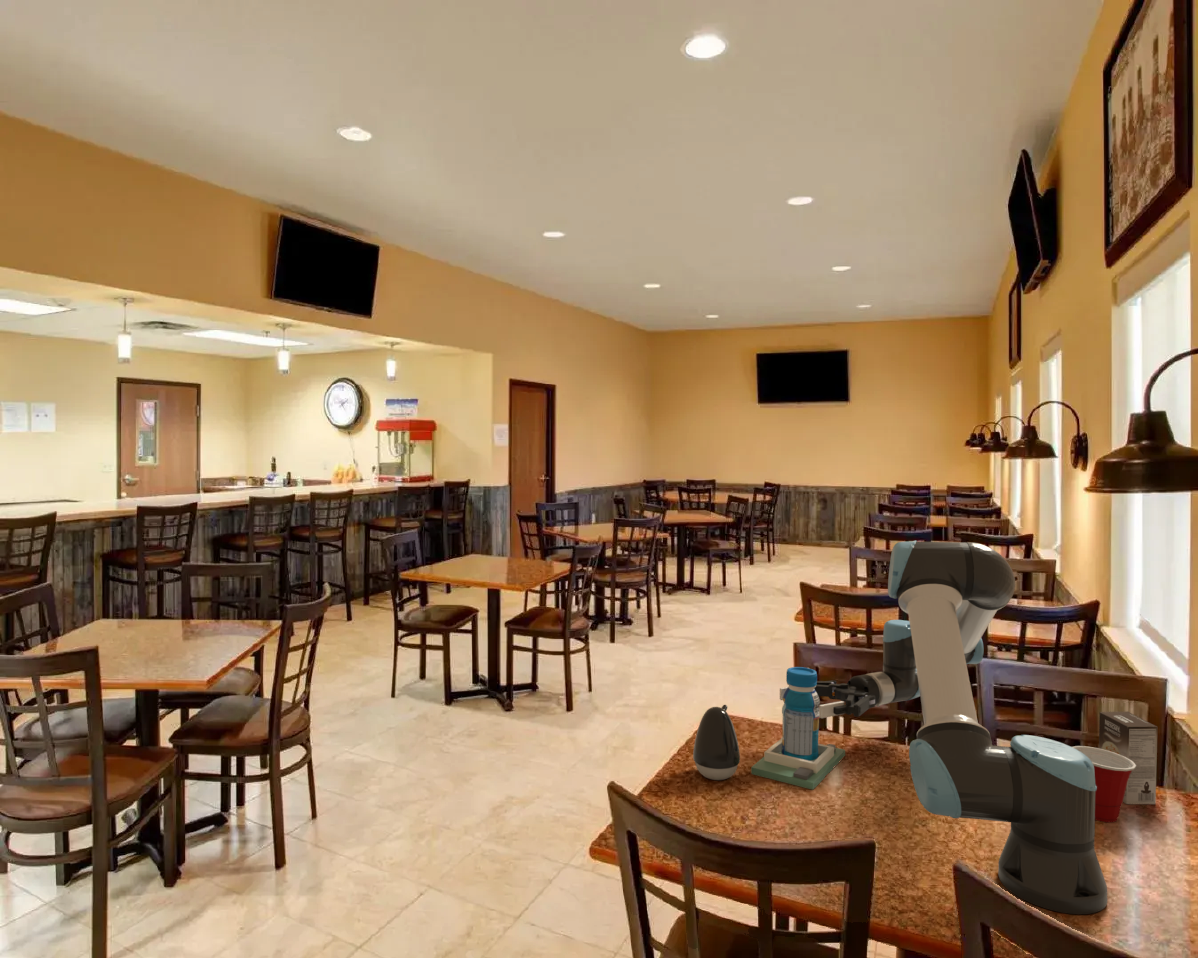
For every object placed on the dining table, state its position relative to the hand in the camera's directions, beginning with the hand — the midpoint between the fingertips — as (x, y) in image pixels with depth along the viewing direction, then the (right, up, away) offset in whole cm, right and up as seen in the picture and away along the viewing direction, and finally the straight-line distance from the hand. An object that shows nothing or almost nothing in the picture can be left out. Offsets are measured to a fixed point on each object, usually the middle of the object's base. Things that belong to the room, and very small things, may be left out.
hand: (799, 702), depth 170 cm
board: (0, -14, 0) cm, 14 cm away
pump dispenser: (-20, -15, -5) cm, 25 cm away
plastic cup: (+52, -15, -25) cm, 60 cm away
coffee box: (+64, -15, -16) cm, 67 cm away
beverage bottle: (0, -13, 0) cm, 13 cm away
